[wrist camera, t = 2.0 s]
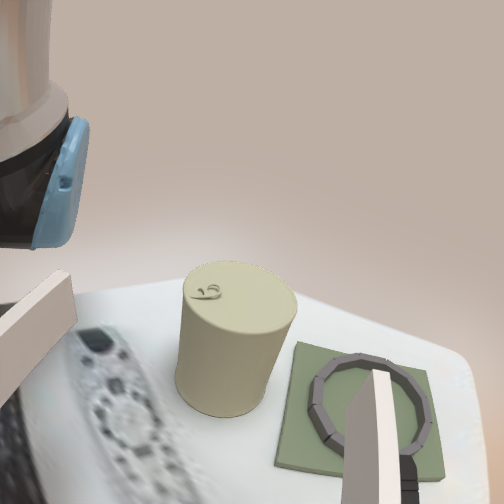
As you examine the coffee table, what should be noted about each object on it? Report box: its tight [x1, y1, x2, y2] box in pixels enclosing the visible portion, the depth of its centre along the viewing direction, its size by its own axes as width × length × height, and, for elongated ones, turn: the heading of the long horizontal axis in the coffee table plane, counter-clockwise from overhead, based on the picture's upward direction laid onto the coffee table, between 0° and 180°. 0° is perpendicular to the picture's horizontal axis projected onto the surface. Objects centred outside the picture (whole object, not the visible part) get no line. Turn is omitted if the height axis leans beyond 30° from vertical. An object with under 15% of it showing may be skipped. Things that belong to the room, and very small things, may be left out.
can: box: [175, 261, 297, 418], centre depth 28 cm, size 9×9×12 cm
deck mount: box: [274, 341, 445, 482], centre depth 29 cm, size 18×16×2 cm
